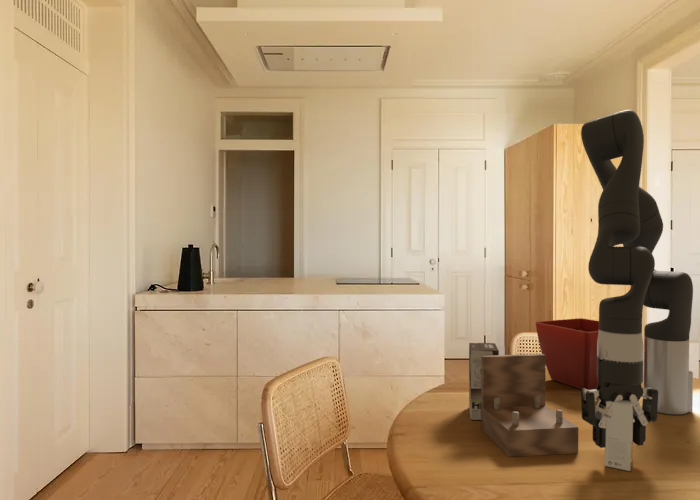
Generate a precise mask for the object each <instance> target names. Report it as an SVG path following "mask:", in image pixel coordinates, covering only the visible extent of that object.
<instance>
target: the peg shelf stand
mask: <svg viewBox="0 0 700 500" xmlns="http://www.w3.org/2000/svg"><path fill="white" fill-rule="evenodd" d="M545 361H546V355H544V354H542V353H529V354H528V353H527V354H524V353H523V354H499V355H490V356H481V420H480V429H481V431H482V432H483V433H484V434H486V435H487V437H489V439H490V440H491V441H492V442H493V443H494V444H495V445H496V446H497V447H498V448H500V450H501V451H502V452H503V453H504V455H506V456H507V457H510V458H511V457H528V456H545V455H546V456H547V455H564V454H565V455H566V454H578V453H579V426H577V425H575V424H574V423H573V422H571V421H570V420H568V419H567V418H566V417H564V415H563V413H564V412H563V410H562V409H556V410H555V411H554V410H553V409H551V408H550V407H548V406H547V405H546V364H545Z"/></svg>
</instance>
